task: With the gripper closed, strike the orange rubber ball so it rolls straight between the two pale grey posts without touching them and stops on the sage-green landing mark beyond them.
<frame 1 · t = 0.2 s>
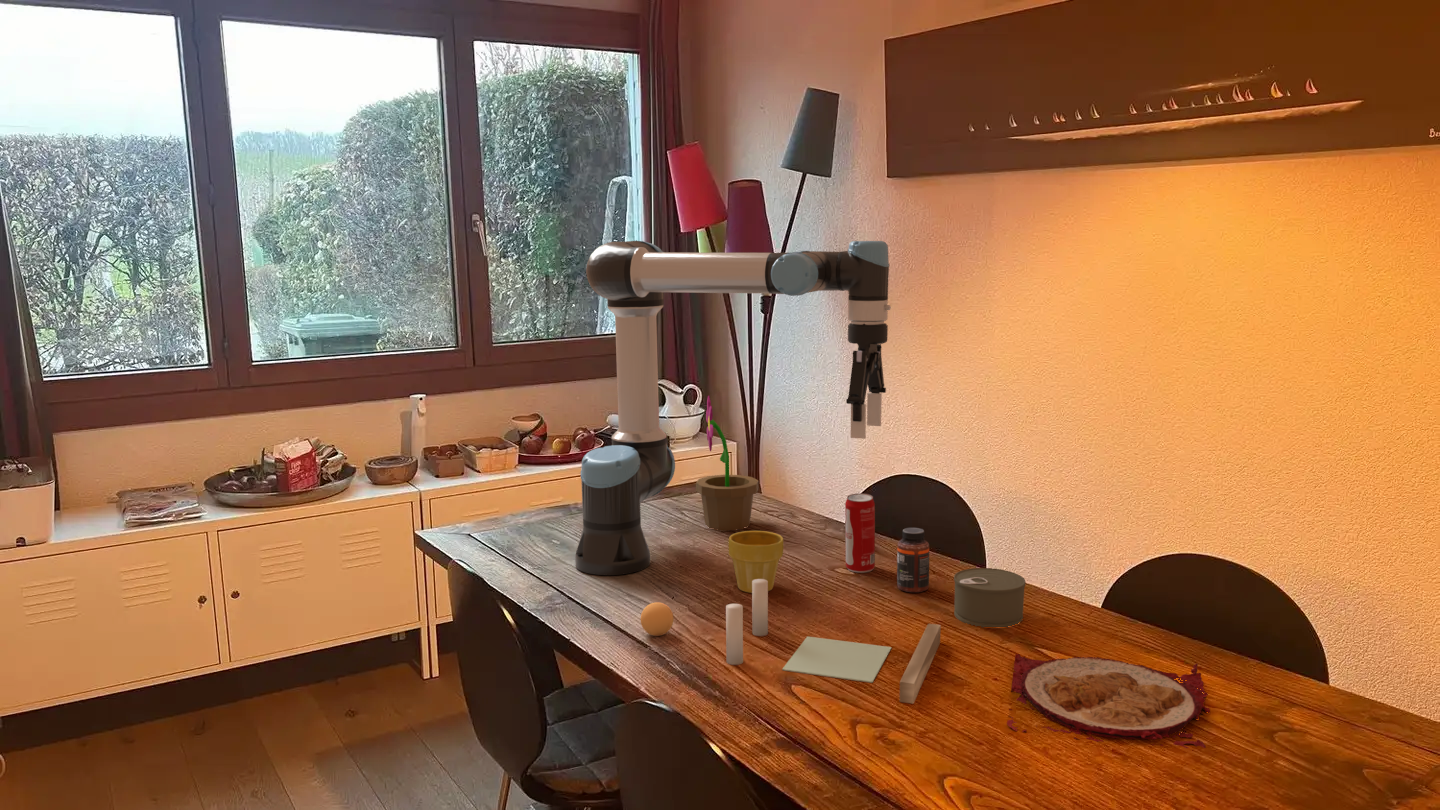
hand: (866, 431, 205), 28 cm above the table, tool pointing down, fingers open, 13 cm apart
landing mark: (838, 658, 166), on the table
plant pot: (756, 588, 199), on the table
post 1: (734, 661, 165), on the table
supplement bottle: (912, 589, 198), on the table
beverage can: (859, 570, 210), on the table
ball: (657, 619, 176), on the table
flowerpot: (727, 525, 242), on the table
post 2: (760, 633, 177), on the table
plate with food: (1108, 710, 149), on the table
can: (988, 617, 184), on the table
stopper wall: (921, 670, 161), on the table
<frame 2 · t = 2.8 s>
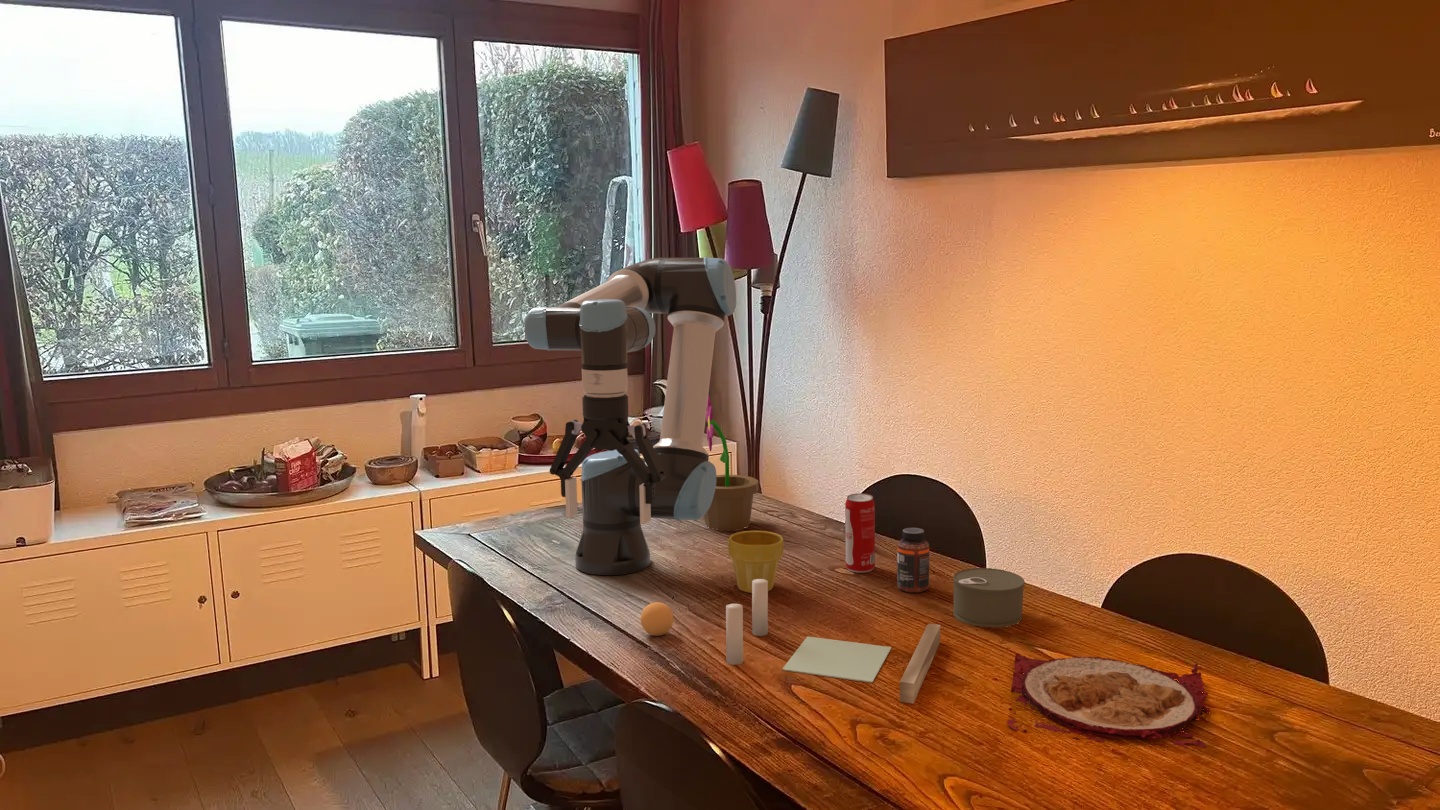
hand: (608, 519, 177), 19 cm above the table, tool pointing down, fingers open, 13 cm apart
nothing on the table moved.
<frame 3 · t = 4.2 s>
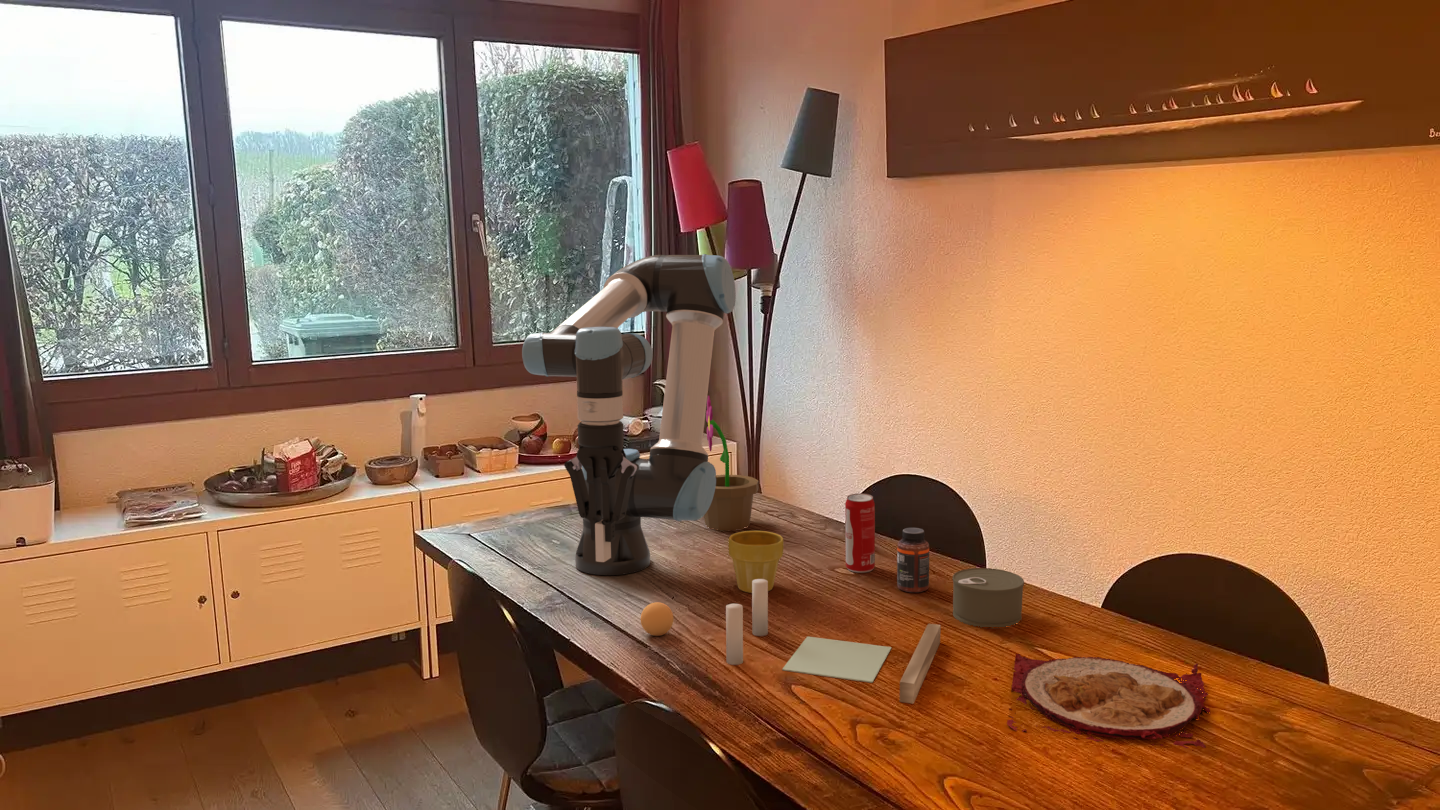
hand: (603, 559, 177), 12 cm above the table, tool pointing down, fingers closed
nothing on the table moved.
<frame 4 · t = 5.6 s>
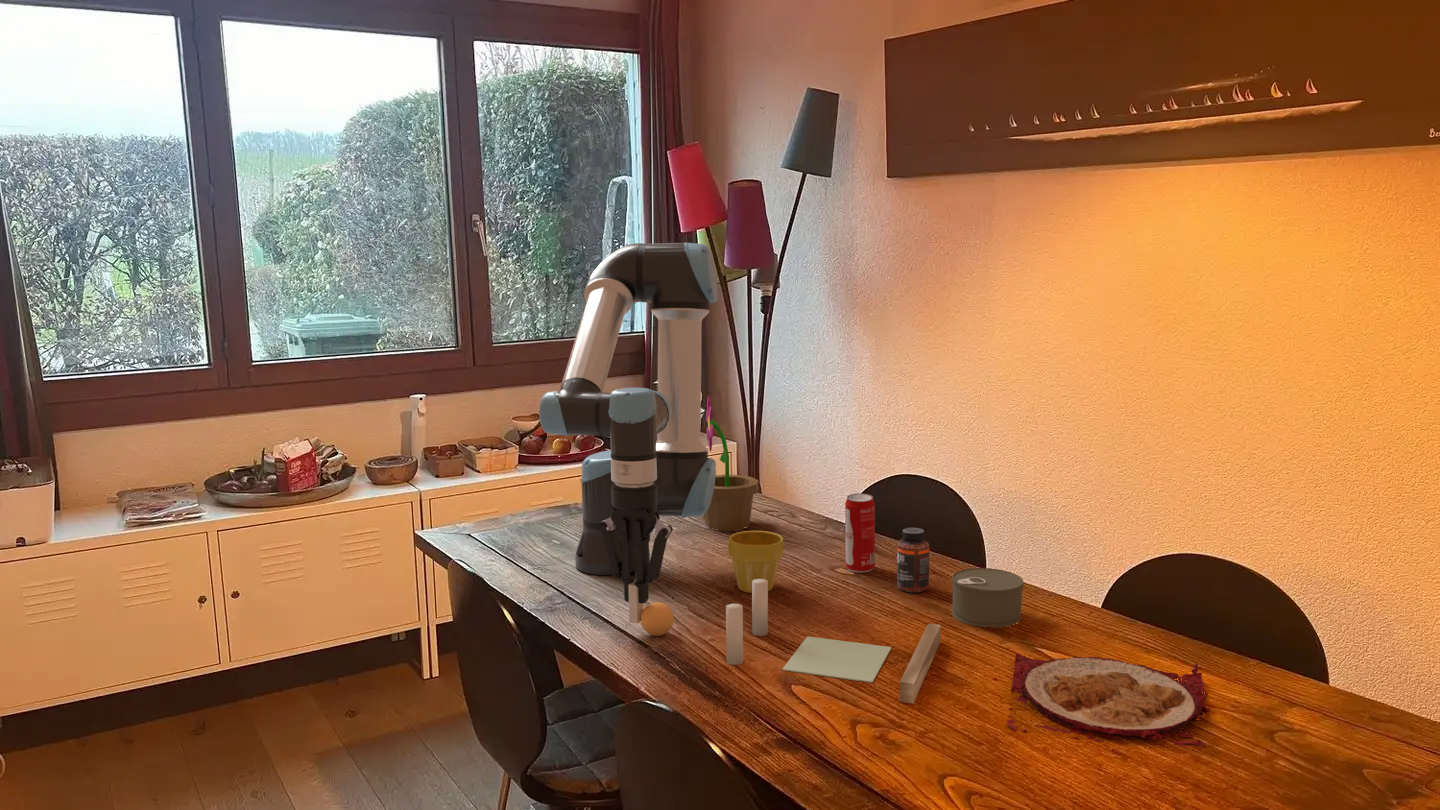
hand: (636, 620, 177), 2 cm above the table, tool pointing down, fingers closed
ball: (657, 619, 176), on the table, touching gripper
everything else where it was.
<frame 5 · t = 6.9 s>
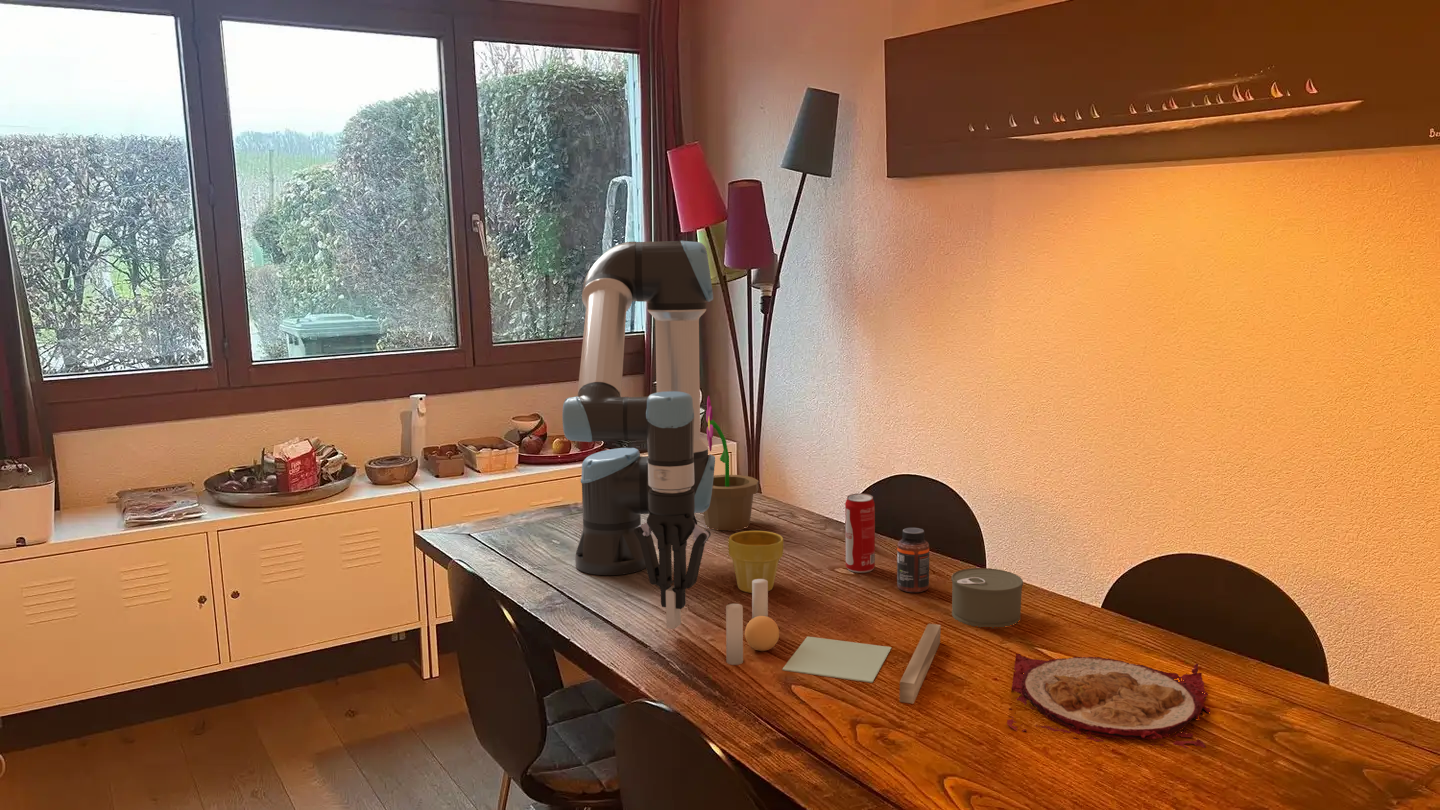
hand: (673, 625, 175), 2 cm above the table, tool pointing down, fingers closed
ball: (762, 633, 169), on the table
everything else where it was.
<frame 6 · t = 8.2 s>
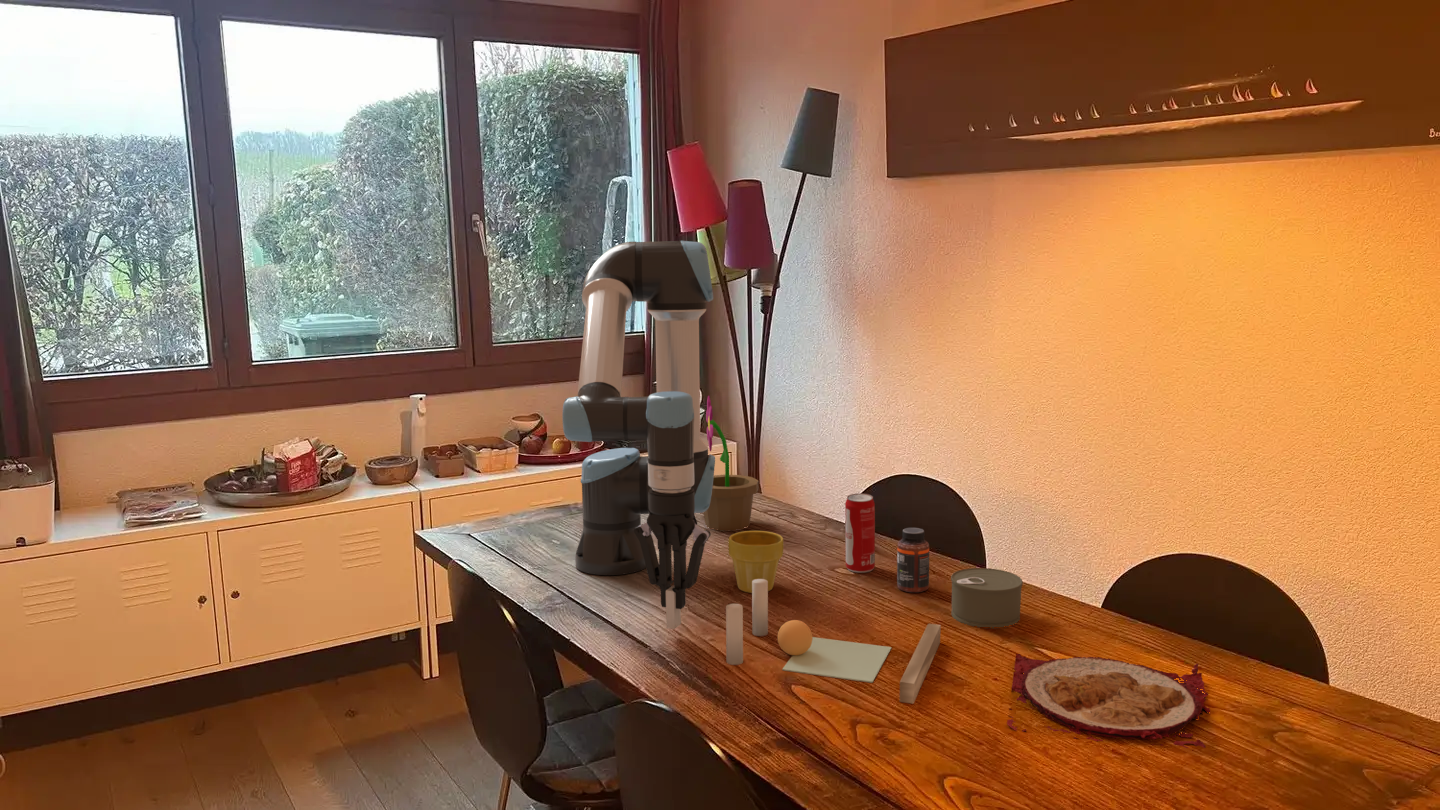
hand: (673, 625, 175), 2 cm above the table, tool pointing down, fingers closed
ball: (795, 637, 167), on the table
everything else where it was.
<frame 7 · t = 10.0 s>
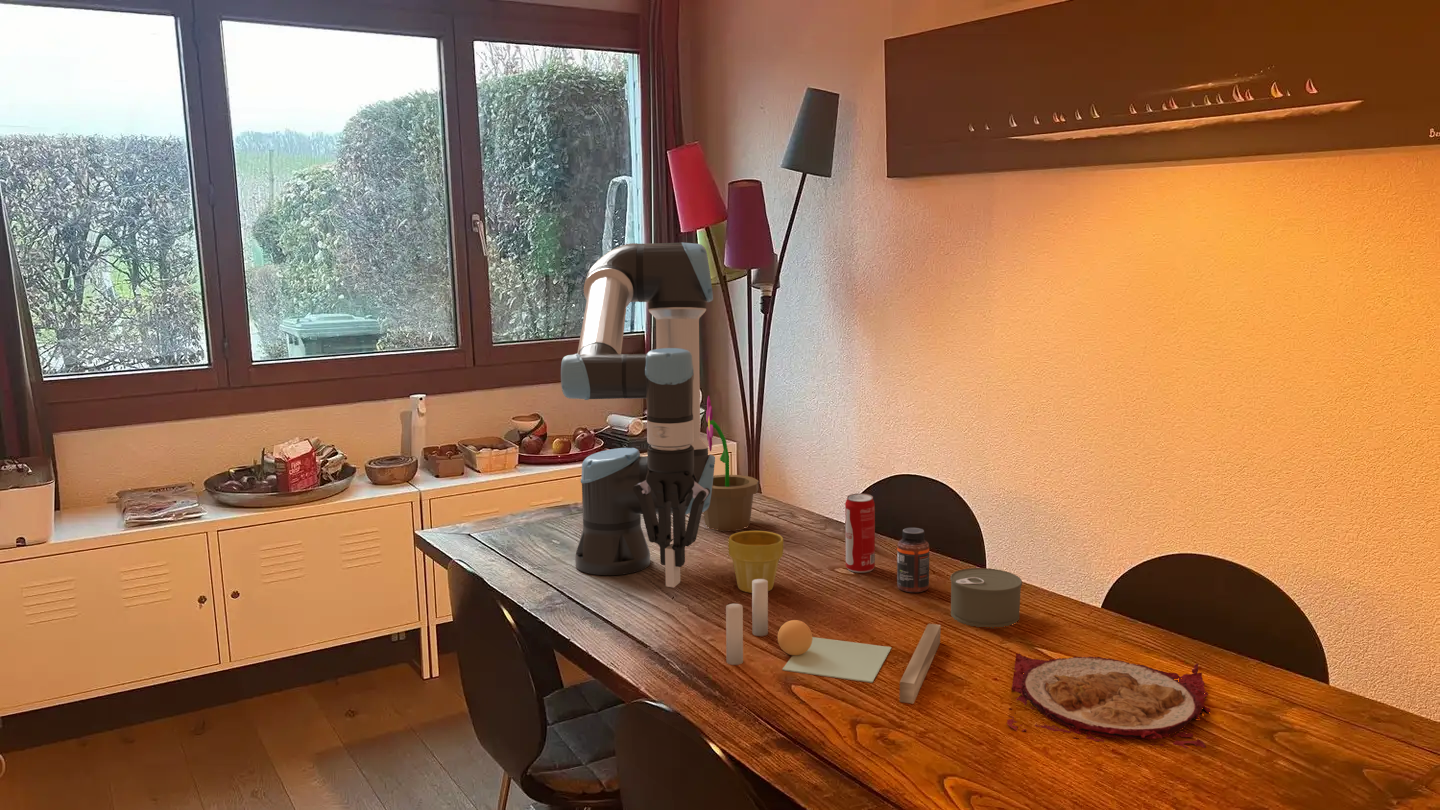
hand: (673, 583, 174), 9 cm above the table, tool pointing down, fingers closed
nothing on the table moved.
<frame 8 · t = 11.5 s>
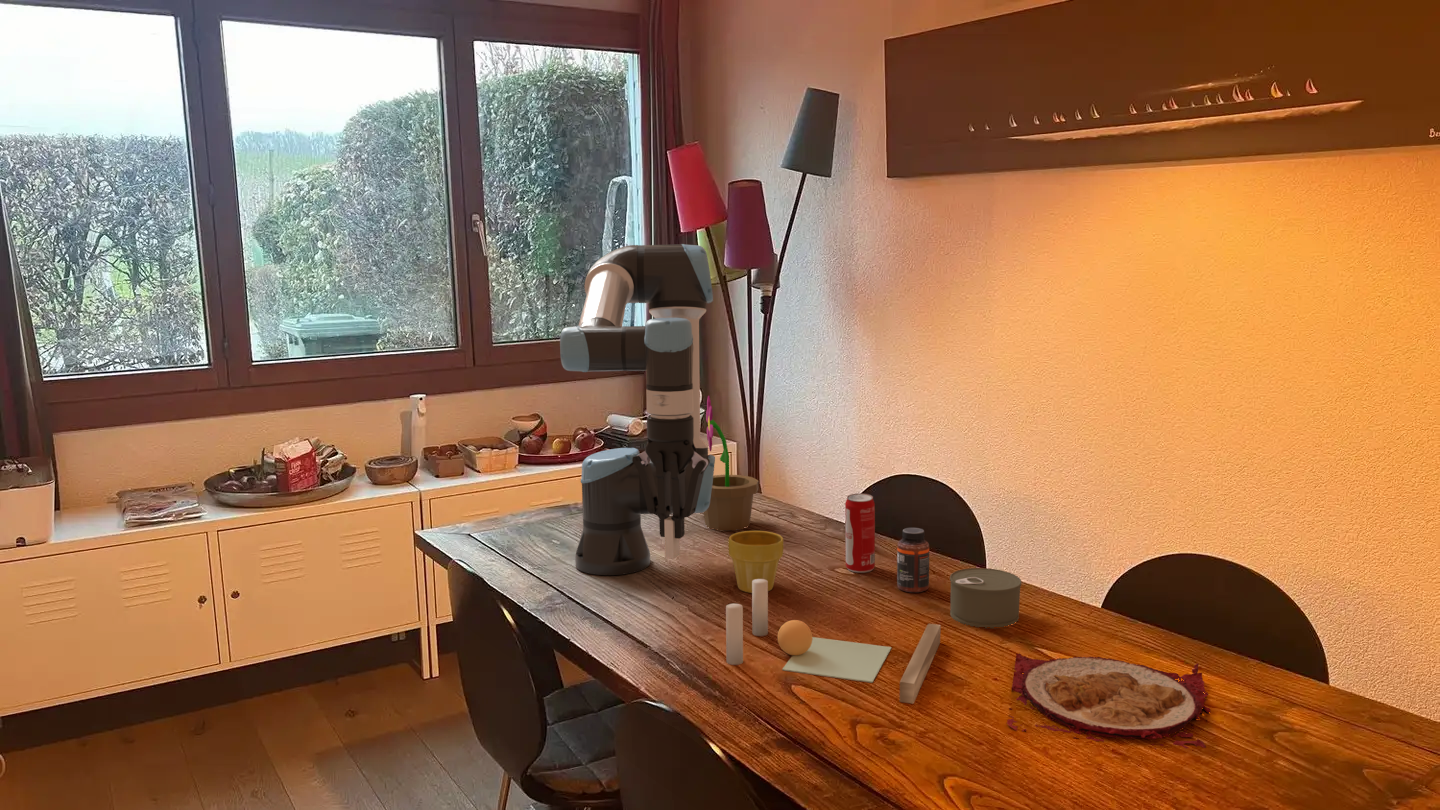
hand: (672, 556, 173), 14 cm above the table, tool pointing down, fingers closed
nothing on the table moved.
at the end: ball 7.0 cm from the landing mark (horizontally); ball never touched post 2; ball never touched post 1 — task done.
